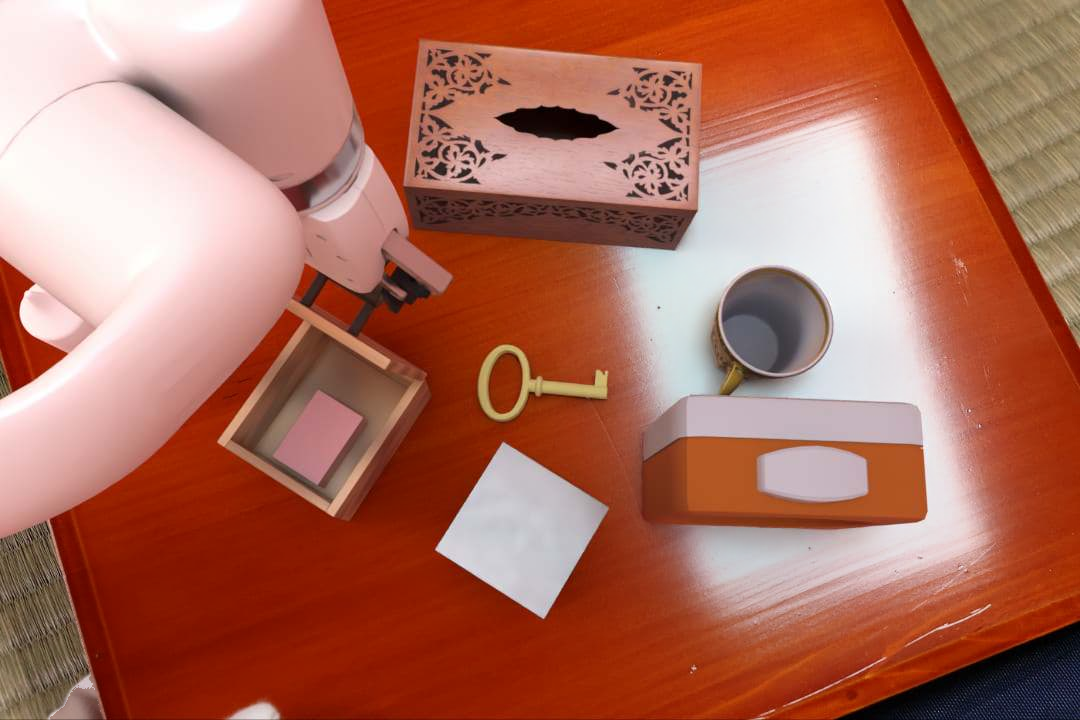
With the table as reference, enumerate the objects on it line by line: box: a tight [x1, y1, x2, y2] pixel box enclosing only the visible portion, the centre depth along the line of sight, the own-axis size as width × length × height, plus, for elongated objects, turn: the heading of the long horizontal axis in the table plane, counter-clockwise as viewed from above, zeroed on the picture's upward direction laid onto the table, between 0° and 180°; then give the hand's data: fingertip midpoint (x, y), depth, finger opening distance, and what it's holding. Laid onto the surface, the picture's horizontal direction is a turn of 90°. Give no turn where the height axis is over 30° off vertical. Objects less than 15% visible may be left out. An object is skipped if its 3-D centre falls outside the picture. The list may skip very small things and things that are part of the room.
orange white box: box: [642, 394, 929, 531], centre depth 71 cm, size 18×9×21 cm, turn 88°
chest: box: [216, 320, 433, 522], centre depth 76 cm, size 14×12×8 cm
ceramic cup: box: [709, 264, 834, 396], centre depth 78 cm, size 13×10×10 cm
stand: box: [434, 440, 611, 621], centre depth 66 cm, size 8×8×25 cm
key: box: [477, 344, 609, 423], centre depth 81 cm, size 7×12×2 cm, turn 102°
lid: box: [285, 270, 428, 381], centre depth 66 cm, size 14×12×5 cm
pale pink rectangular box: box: [272, 389, 368, 488], centre depth 77 cm, size 7×5×3 cm
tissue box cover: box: [402, 38, 703, 251], centre depth 82 cm, size 26×14×10 cm, turn 86°
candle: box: [19, 283, 96, 354], centre depth 68 cm, size 7×7×25 cm
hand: (344, 255), depth 57 cm, fingers open, 9 cm apart
